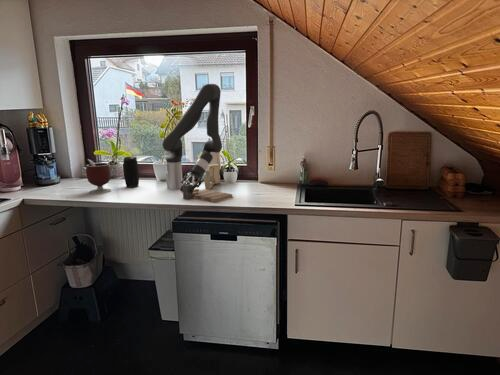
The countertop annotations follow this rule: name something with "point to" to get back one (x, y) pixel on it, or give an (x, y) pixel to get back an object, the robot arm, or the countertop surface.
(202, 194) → the brown flat slatted board
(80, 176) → the countertop surface
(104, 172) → the mate gourd
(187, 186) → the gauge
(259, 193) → the countertop surface
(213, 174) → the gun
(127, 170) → the portable speaker
